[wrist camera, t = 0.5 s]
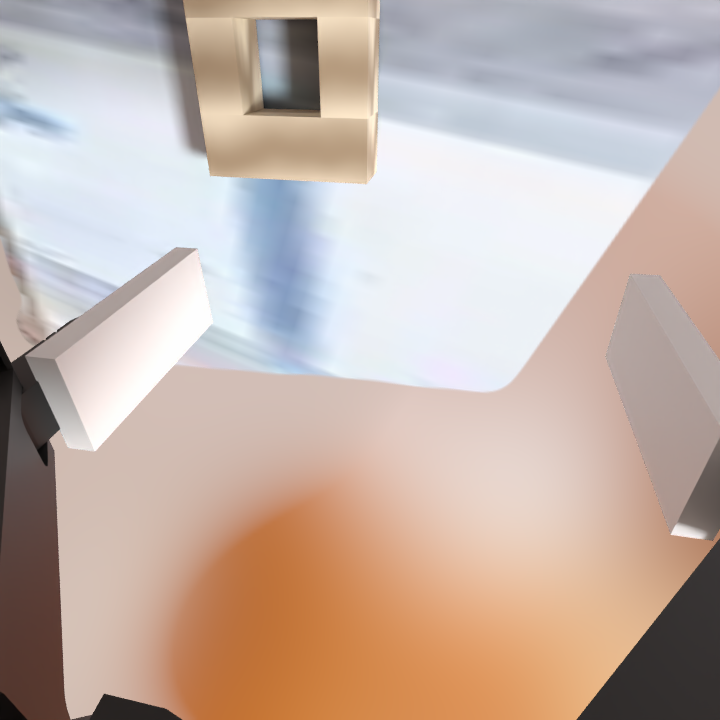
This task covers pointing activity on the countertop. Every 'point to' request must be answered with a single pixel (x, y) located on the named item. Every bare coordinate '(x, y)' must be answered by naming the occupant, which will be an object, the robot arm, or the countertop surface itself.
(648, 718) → the robot arm
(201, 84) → the socket block
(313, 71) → the countertop surface
